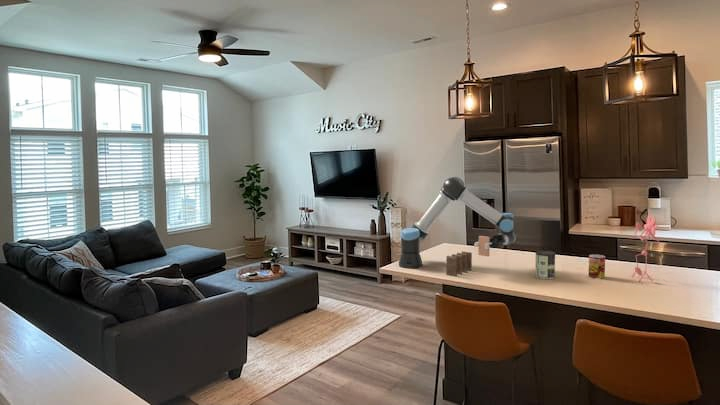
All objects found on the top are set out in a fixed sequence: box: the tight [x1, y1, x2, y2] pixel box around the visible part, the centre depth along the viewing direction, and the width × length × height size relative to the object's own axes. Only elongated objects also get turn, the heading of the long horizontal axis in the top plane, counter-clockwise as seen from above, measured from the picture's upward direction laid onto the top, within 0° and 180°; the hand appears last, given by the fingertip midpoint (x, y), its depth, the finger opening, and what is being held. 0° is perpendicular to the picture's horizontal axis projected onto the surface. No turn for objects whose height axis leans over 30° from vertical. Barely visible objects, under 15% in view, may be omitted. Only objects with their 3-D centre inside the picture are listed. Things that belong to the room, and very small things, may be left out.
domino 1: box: [446, 255, 458, 277], centre depth 247 cm, size 2×6×11 cm, turn 45°
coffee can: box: [534, 250, 556, 280], centre depth 239 cm, size 10×10×14 cm
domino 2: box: [451, 253, 463, 275], centre depth 251 cm, size 2×6×11 cm, turn 45°
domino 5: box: [477, 235, 491, 257], centre depth 244 cm, size 2×6×11 cm, turn 45°
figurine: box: [631, 215, 660, 283], centre depth 229 cm, size 15×26×35 cm, turn 169°
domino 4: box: [461, 251, 473, 272], centre depth 258 cm, size 2×6×11 cm, turn 45°
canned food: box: [588, 254, 606, 280], centre depth 237 cm, size 8×8×12 cm
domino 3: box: [456, 252, 468, 273], centre depth 254 cm, size 2×6×11 cm, turn 46°
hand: (480, 245), depth 241 cm, fingers closed on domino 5, 6 cm apart
